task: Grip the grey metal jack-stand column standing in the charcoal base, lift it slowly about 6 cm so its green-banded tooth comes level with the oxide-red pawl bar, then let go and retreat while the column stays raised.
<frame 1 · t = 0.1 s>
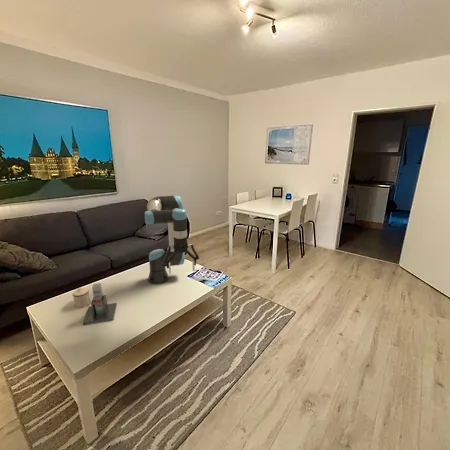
hand: (181, 271, 144), 28 cm above the table, fingers open, 13 cm apart
teacup with lid: (81, 303, 161), on the table
stand base: (100, 314, 150), on the table
column: (98, 299, 147), point 11 cm above the table, slide at 0.0 cm
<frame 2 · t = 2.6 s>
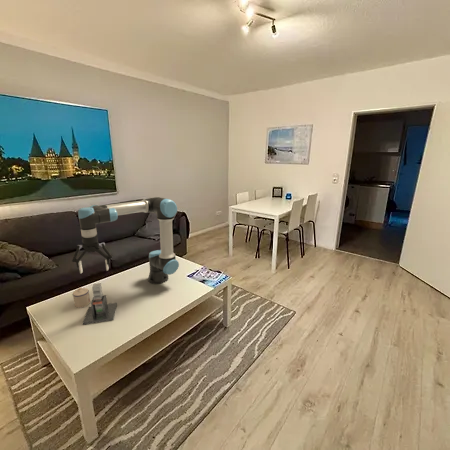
hand: (94, 271, 142), 29 cm above the table, fingers open, 13 cm apart
nothing on the table moved.
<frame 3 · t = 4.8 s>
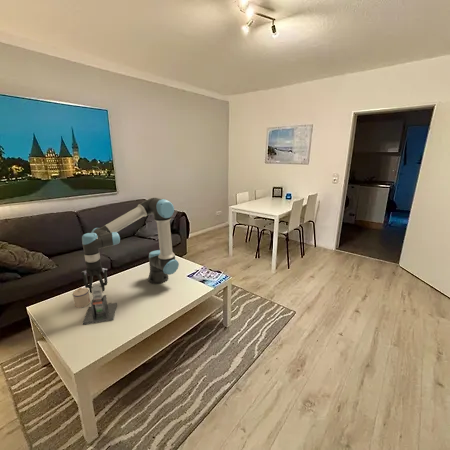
hand: (98, 296, 147), 12 cm above the table, fingers closed on column, 4 cm apart
column: (98, 299, 147), point 11 cm above the table, slide at 0.0 cm, touching gripper
everything else where it was.
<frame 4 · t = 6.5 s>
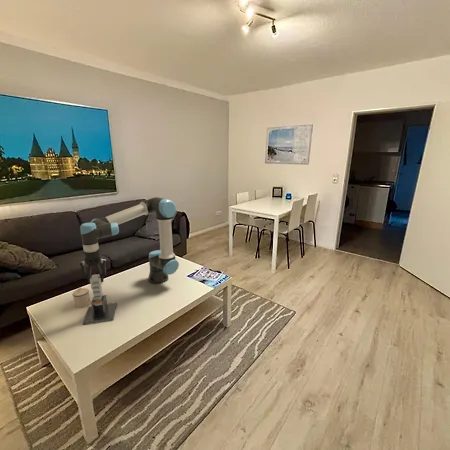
hand: (97, 287, 145), 18 cm above the table, fingers closed on column, 4 cm apart
column: (97, 290, 145), point 17 cm above the table, slide at 5.9 cm, touching gripper
everything else where it was.
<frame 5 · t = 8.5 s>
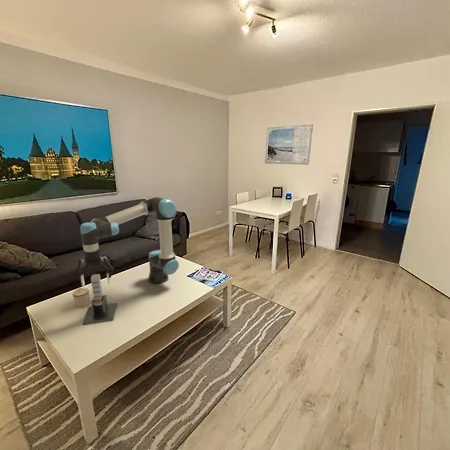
hand: (96, 284, 145), 20 cm above the table, fingers open, 13 cm apart
column: (97, 290, 145), point 17 cm above the table, slide at 6.0 cm
everything else where it was.
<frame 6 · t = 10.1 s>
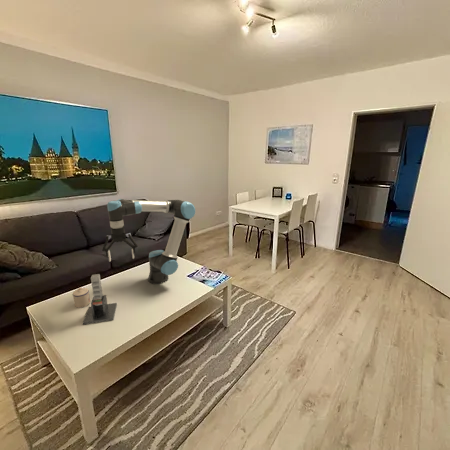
hand: (122, 259, 155), 30 cm above the table, fingers open, 13 cm apart
nothing on the table moved.
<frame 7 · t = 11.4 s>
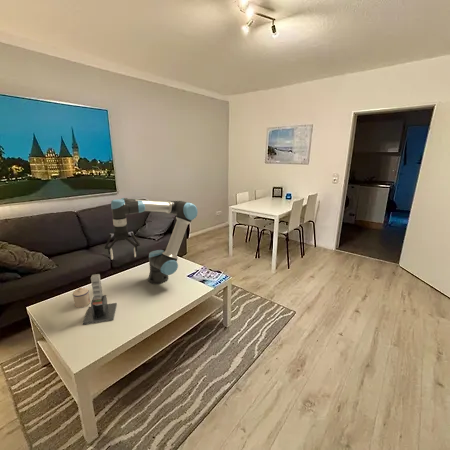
hand: (123, 257, 156), 31 cm above the table, fingers open, 13 cm apart
nothing on the table moved.
at the end: column slide at 6.0 cm; the gripper is holding nothing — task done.
